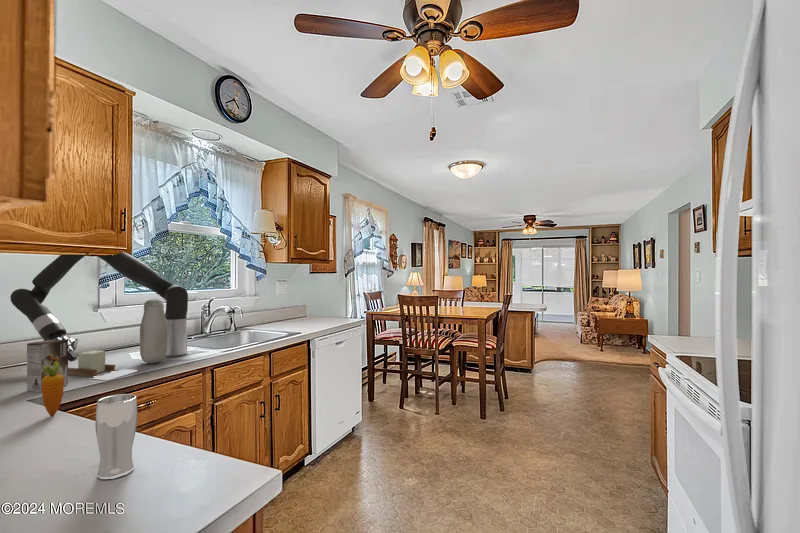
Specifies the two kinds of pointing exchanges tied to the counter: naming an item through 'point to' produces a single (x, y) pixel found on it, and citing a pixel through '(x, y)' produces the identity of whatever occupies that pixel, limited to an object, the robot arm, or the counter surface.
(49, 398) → the carrot
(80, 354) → the block
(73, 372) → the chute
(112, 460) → the beer glass
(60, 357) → the coffee box
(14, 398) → the counter surface
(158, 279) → the robot arm
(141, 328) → the grey bottle
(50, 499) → the counter surface
